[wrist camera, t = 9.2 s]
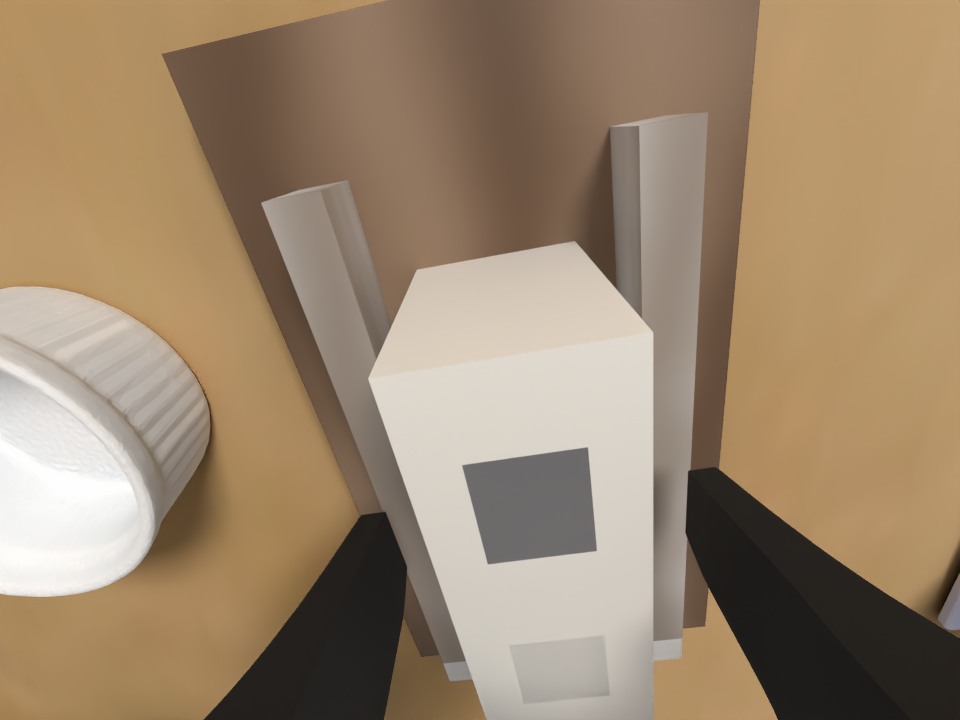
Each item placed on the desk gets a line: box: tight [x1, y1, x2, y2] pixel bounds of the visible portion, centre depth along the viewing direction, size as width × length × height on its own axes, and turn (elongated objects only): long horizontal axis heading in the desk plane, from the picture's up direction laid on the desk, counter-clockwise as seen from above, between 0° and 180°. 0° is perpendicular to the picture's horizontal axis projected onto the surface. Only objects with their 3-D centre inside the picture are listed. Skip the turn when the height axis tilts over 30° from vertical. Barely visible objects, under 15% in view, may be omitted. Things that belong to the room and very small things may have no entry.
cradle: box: [162, 0, 760, 682], centre depth 13 cm, size 12×22×4 cm, turn 10°
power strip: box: [368, 241, 653, 720], centre depth 11 cm, size 4×11×6 cm, turn 10°
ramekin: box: [0, 287, 210, 597], centre depth 13 cm, size 9×9×4 cm
